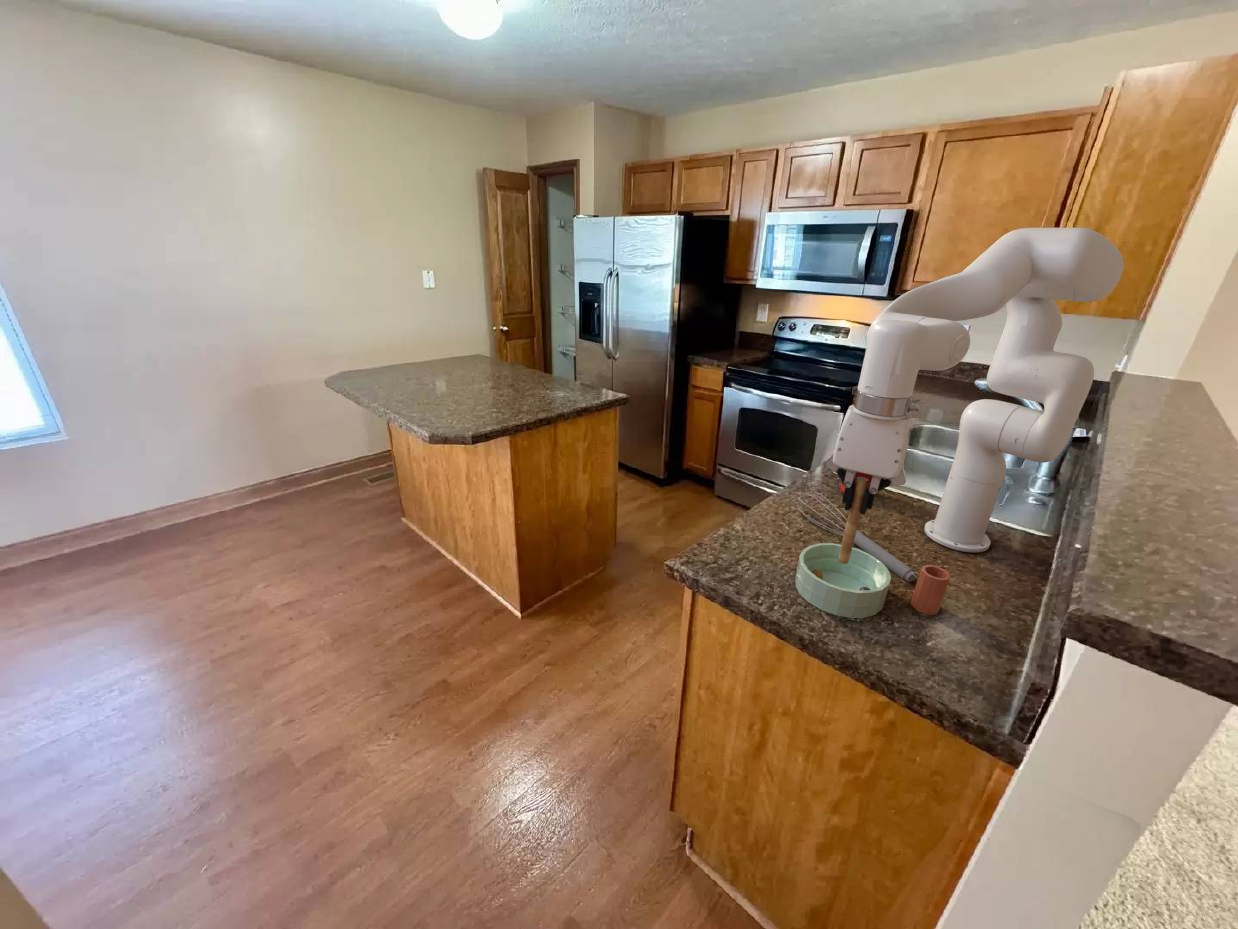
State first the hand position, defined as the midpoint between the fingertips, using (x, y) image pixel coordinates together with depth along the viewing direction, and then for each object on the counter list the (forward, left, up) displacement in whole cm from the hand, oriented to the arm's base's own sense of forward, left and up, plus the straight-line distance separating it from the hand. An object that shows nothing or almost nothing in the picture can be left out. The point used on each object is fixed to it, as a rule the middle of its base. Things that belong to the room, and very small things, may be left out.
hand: (855, 508), depth 86 cm
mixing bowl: (-3, 0, -19) cm, 19 cm away
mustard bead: (-3, -4, -17) cm, 18 cm away
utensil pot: (-7, +14, -19) cm, 25 cm away
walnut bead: (-3, +5, -17) cm, 18 cm away
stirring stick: (0, 0, -11) cm, 11 cm away
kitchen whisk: (-23, -1, -19) cm, 30 cm away
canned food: (-50, -5, -19) cm, 54 cm away
